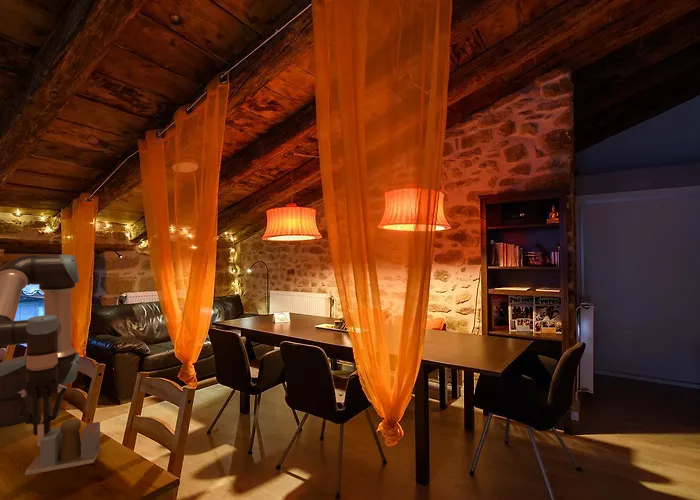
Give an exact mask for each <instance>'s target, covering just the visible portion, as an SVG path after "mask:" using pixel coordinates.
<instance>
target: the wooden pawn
mask: <svg viewBox="0 0 700 500" xmlns="http://www.w3.org/2000/svg"><path fill="white" fill-rule="evenodd" d="M81 427H82V423H81V421H80V419H76V418H73V419H68V420H66V421H64V422H63V423H62V424H61V426H60V427H59V428H60V430H61V433H63V435H62V442H61V448H60V455H59V461H70V460H74V459H76V458H78V457H80V456H81V434H80V429H81Z"/></svg>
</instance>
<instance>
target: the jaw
mask: <svg viewBox="0 0 700 500" xmlns="http://www.w3.org/2000/svg"><path fill="white" fill-rule="evenodd" d="M60 428H61V427H55V428H50V431H49V433H46V434H45V436H44V437H43V438H42V439H41V440H40V447H39V449H40V451H39V453H40V454H39V456H40V468H41V467H47V466H53V465H55V464H56V462H57V461H58V459H59V455H60V448H61V442H62V435H63V433H61V430H60Z"/></svg>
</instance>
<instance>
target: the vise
mask: <svg viewBox="0 0 700 500" xmlns="http://www.w3.org/2000/svg"><path fill="white" fill-rule="evenodd" d="M80 441H81V456H80V457H78V458H76V459H74V460H70V461H59V459H58V461H57V462H56V464H55V465H53V466H47V467H41V468H40V455H36V456H35V458H34V459H32V461H31V463H30V464H29V466H28V467H27V468H26V469H25V471H24V476H29V475H35V474H40V473H45V472H51V471H57V470H62V469H66V468H67V469H68V468H73V467H77V466H83V465H88V464H89V465H90V464H94V463H95V461H96V459H97V457H98V454H99V453H100V451H101V422H100V421H95V422H87V424H86V425H85V426H84V428H83V430H82V431H81V433H80Z"/></svg>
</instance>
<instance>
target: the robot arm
mask: <svg viewBox="0 0 700 500" xmlns="http://www.w3.org/2000/svg"><path fill="white" fill-rule="evenodd" d="M78 268H79V267H78V262H77V258H76V257H75V256H74V255H72V254H61V253H60V254H26V255H25V254H24V255H21V256H18V257H15V258H13V259H11V260H9V261H8V262H6V263H5V264H3V265H2V266H0V347H6V346H15V345H17V346H18V345H25V344H26V355H22V356H21V355H20V356H18V357H12V358H10V359H6V360H3V361H1V362H0V427H7V426H11V425H13V426H14V425H17V424H21V423H24V422H25V424H26V425H29V424H30V425H32V426H33V435H34V436H37V442H36V443H37V448H38V447H39V448H40V440H41V439H42V438H43V437H44V436H45V434H46V433H49V431H50V429H51V422H52V421H55V420H56V419H57V418H58V416H59V413H60V410H61V407H62V403H63V401H64V400H63V399H64V396H65V394H66V392H67V391H68V389H69V386H68V385H66V384H70V383H71V384H72V383H73V382H75V381H76V379H77V375H78V370H79V369H78V368H79V364H80V363H79V362H80V355H81V354H80V353H76V348H74V347H72V318H71V317H72V315H71V313H72V308H71V307H72V306H71V304H72V303H71V302H72V301H71V300H72V299H71V297H72V296H71V295H72V294H71V291H73V290H74V289H75V288H76V284H78V283H80V274H79V269H78ZM28 285H38V289H39V290H40V291H41V292H42V293H44V294H43V297H44V299H43V303H44V304H43V305H44V307H43V308H44V310H43V311H44V315H35V316H32V317H29V318H28V319H24V320H15V318H16V314H17V311H18V307H19V303H20V300H21V297H22V296H21V295H22V293H23V289H25V288H26V287H27V286H28ZM56 390H57V397H56V398H55V399H56V400H55V402H54V405H53V409H52V398H53V397H52V395H53V394H54V393H55V391H56ZM42 402H43V421H42V417H41V416H42Z"/></svg>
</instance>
